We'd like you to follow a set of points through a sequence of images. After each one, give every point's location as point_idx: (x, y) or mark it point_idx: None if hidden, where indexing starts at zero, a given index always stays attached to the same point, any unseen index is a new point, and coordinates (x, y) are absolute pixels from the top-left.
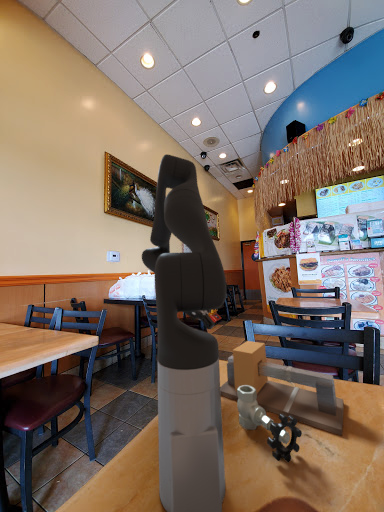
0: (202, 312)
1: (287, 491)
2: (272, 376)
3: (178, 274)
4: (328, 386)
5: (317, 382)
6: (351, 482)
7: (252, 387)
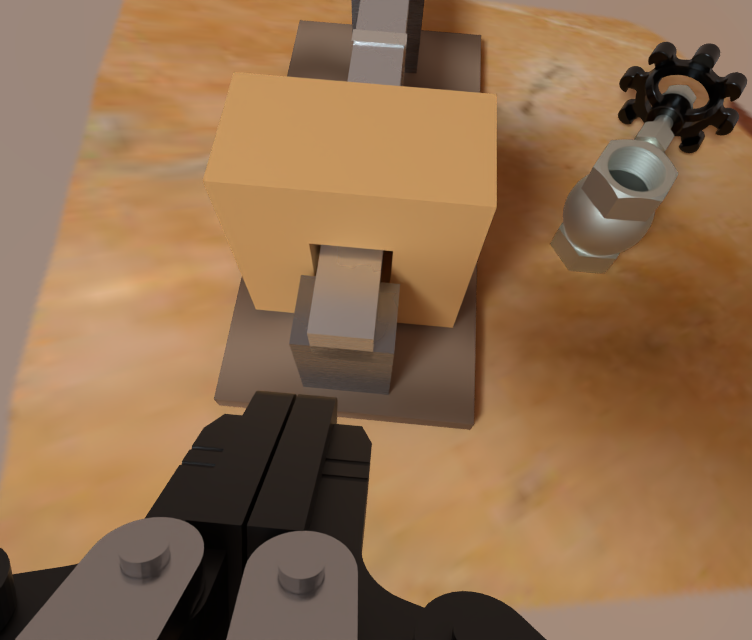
0: (324, 605)
1: (734, 132)
2: None
3: None
4: None
5: None
6: (620, 47)
7: (607, 152)
